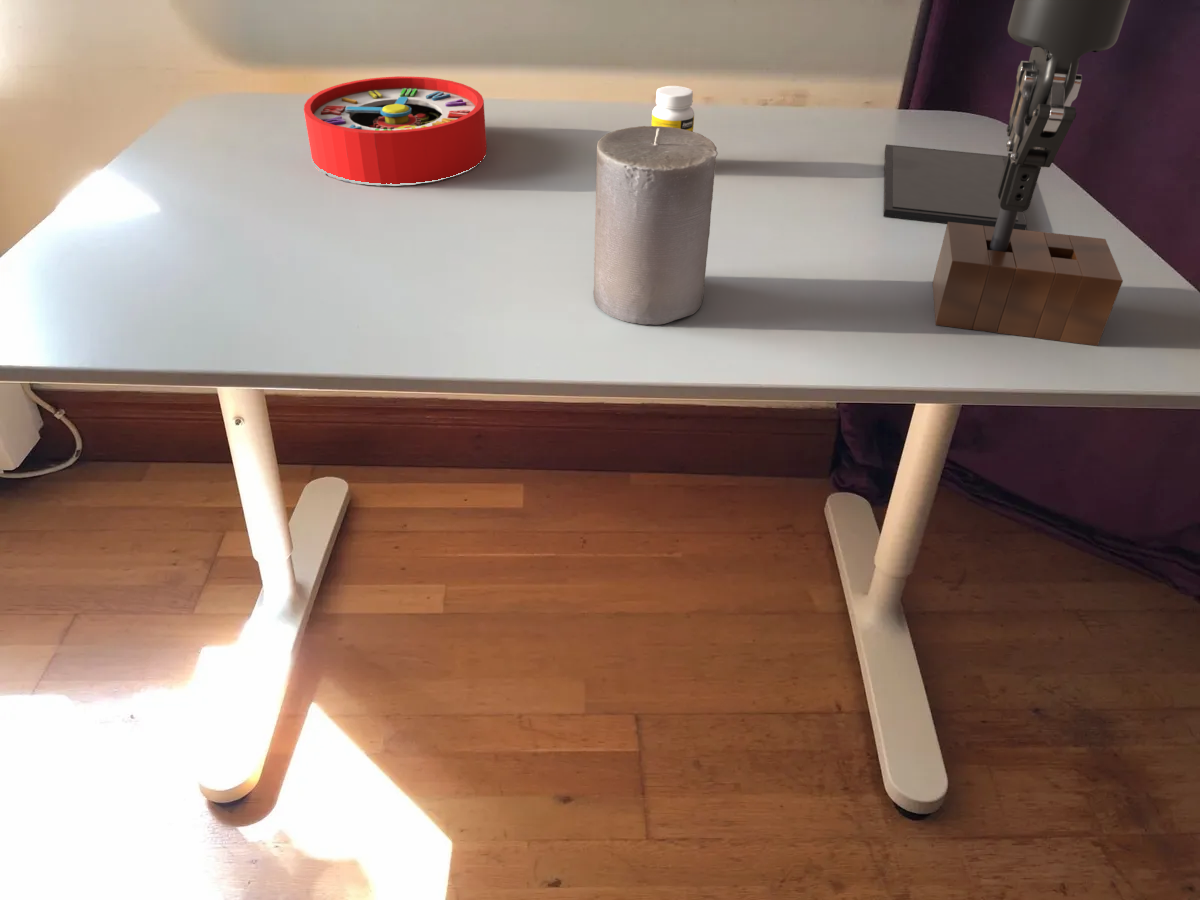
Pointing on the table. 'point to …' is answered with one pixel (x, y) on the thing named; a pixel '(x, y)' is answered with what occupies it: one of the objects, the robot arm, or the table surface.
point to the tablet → (943, 186)
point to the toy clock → (396, 129)
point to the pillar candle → (652, 222)
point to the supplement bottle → (674, 108)
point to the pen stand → (1025, 284)
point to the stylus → (1003, 229)
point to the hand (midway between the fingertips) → (1011, 203)
